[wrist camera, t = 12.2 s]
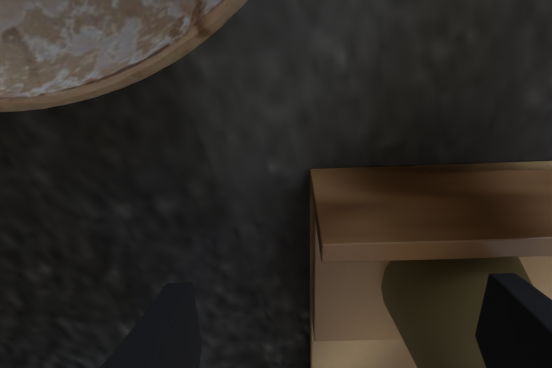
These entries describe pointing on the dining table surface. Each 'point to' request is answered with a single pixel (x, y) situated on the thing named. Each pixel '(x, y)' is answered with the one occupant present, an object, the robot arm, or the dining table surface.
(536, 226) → the wooden stepped pedestal
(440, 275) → the olive peg figure
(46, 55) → the ceramic bowl
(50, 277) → the dining table surface
